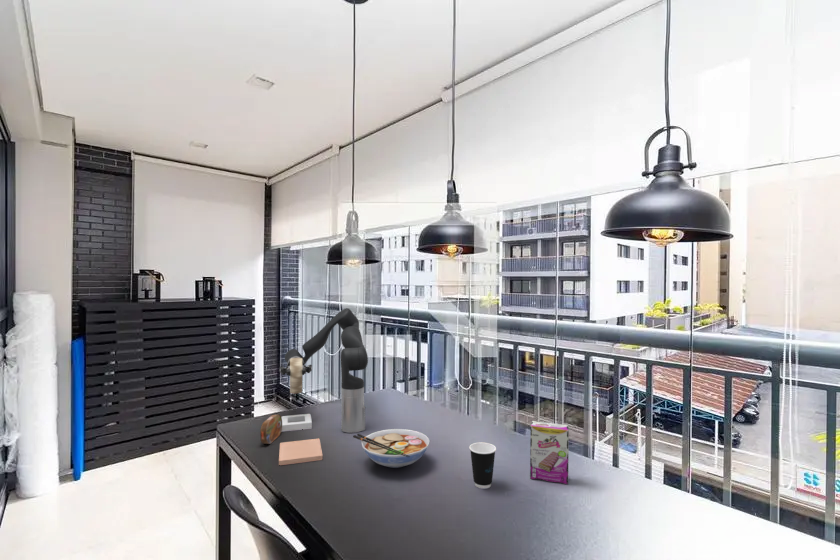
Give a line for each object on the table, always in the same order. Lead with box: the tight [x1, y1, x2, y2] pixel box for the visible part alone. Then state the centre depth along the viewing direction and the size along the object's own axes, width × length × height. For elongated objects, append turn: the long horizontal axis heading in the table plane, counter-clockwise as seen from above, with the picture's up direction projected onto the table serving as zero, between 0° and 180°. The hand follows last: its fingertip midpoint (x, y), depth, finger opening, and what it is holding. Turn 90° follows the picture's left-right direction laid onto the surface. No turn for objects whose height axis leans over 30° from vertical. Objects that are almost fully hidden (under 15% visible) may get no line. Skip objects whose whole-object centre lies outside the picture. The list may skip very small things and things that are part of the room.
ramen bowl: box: [352, 428, 431, 469], centre depth 135 cm, size 25×23×8 cm
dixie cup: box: [469, 441, 497, 490], centre depth 120 cm, size 8×8×11 cm
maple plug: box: [289, 358, 303, 395], centre depth 171 cm, size 5×5×14 cm
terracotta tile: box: [278, 438, 324, 466], centre depth 143 cm, size 14×16×2 cm
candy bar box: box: [529, 420, 570, 485], centre depth 124 cm, size 11×5×16 cm, turn 71°
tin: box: [259, 414, 282, 445], centre depth 156 cm, size 15×3×8 cm, turn 177°
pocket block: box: [281, 413, 313, 433], centre depth 171 cm, size 12×12×2 cm
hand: (296, 373), depth 169 cm, fingers closed on maple plug, 5 cm apart
